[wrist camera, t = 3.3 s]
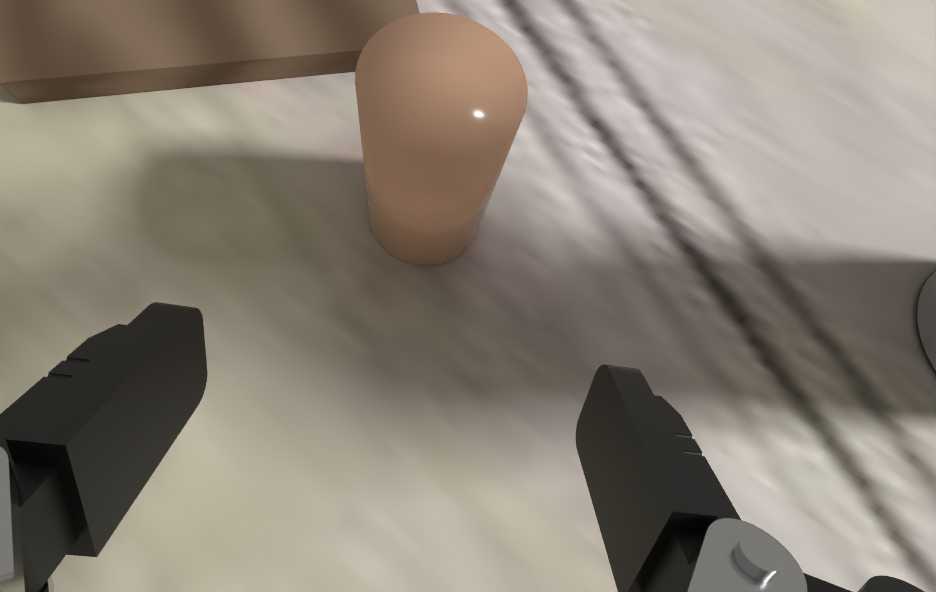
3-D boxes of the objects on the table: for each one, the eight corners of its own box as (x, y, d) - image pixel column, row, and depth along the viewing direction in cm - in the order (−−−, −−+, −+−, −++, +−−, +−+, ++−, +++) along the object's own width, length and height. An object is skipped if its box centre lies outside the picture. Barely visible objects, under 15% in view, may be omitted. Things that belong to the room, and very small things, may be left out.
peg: (464, 159, 27) (503, 6, 17) (490, 255, 26) (547, 147, 16) (360, 173, 26) (341, 19, 16) (380, 275, 24) (373, 171, 15)
